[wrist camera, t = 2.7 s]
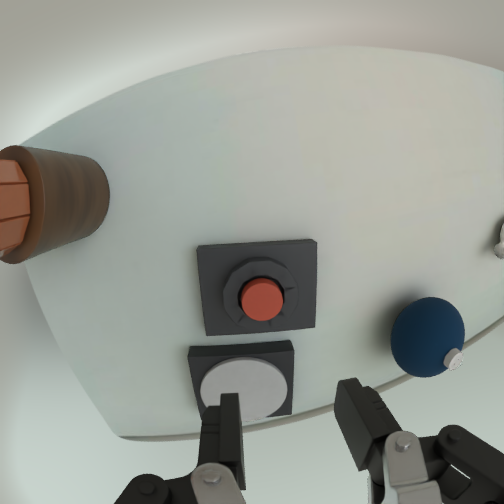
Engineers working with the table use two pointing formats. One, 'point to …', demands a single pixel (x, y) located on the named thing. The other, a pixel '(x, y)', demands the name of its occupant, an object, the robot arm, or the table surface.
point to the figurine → (500, 245)
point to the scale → (245, 377)
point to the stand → (58, 199)
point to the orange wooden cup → (12, 205)
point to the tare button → (261, 299)
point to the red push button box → (253, 267)
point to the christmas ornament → (428, 337)
